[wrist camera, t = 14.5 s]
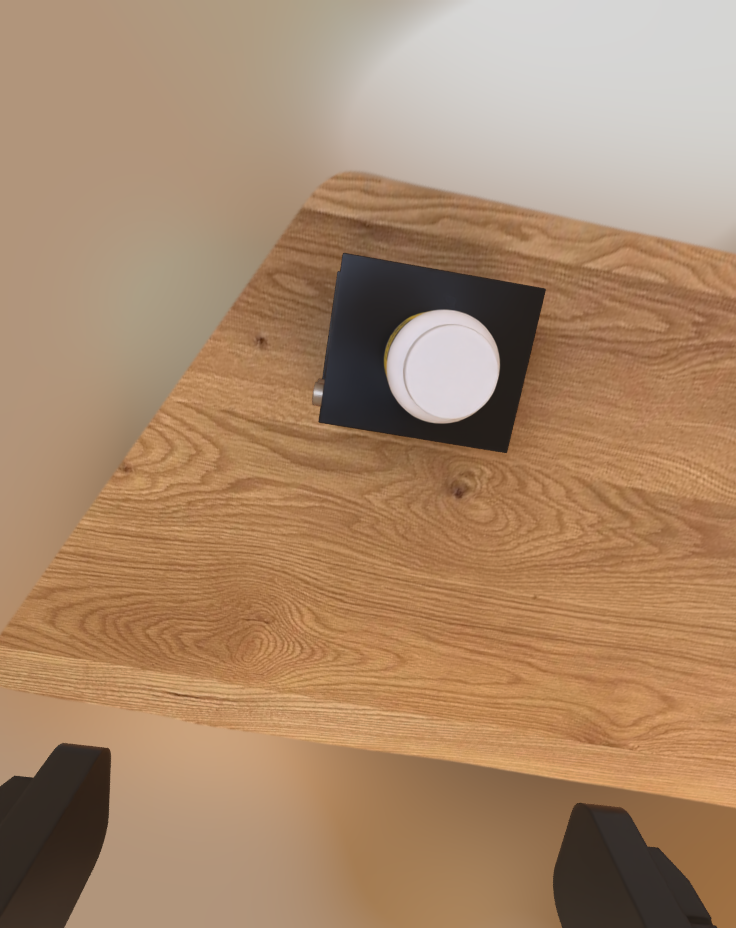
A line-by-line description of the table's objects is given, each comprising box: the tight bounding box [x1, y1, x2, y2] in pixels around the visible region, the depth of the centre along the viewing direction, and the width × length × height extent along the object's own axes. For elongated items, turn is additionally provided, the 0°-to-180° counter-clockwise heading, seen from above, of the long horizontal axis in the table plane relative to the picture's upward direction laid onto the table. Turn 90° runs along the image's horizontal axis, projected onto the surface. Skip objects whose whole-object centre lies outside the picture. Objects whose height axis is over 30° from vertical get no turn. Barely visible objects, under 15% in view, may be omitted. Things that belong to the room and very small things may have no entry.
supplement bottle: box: [384, 310, 500, 423], centre depth 27 cm, size 5×5×10 cm
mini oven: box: [312, 253, 546, 453], centre depth 35 cm, size 13×10×8 cm
